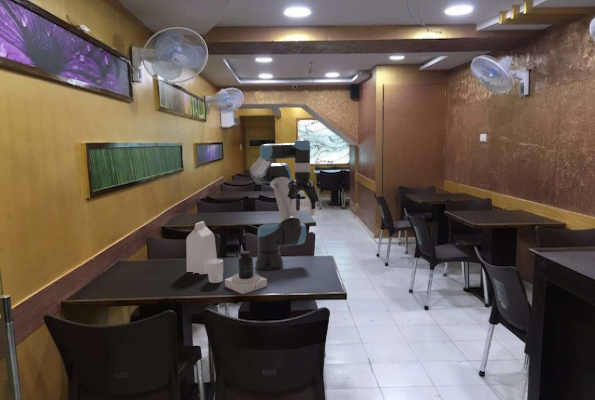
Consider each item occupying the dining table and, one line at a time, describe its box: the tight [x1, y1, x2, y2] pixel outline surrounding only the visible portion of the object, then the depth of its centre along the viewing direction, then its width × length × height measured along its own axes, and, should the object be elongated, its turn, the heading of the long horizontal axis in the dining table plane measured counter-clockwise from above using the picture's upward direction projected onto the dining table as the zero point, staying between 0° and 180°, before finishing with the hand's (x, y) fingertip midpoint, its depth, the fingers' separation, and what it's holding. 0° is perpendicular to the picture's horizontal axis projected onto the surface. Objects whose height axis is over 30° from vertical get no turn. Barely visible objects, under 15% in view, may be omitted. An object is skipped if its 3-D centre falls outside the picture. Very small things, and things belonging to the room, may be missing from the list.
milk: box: [185, 220, 218, 275], centre depth 216 cm, size 12×12×26 cm
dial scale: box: [224, 272, 268, 295], centre depth 192 cm, size 15×14×5 cm
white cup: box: [207, 258, 224, 284], centre depth 200 cm, size 8×8×10 cm
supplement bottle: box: [237, 250, 254, 279], centre depth 191 cm, size 7×7×12 cm
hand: (302, 213), depth 204 cm, fingers open, 13 cm apart
